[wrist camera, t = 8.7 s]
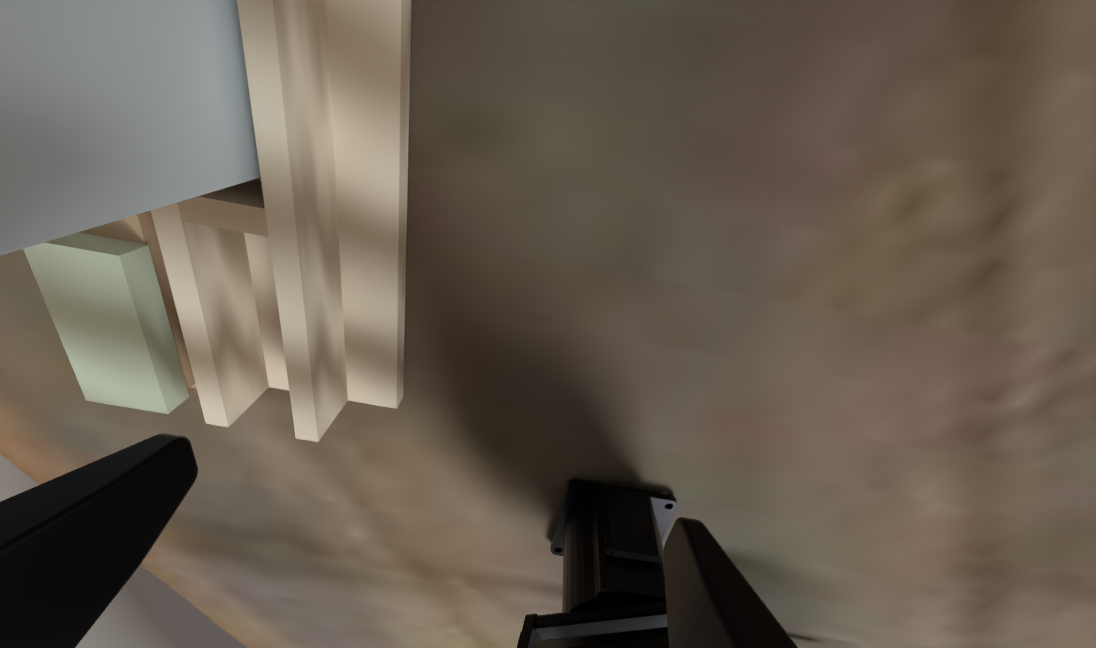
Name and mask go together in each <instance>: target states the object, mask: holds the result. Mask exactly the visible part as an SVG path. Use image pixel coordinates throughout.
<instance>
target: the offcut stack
mask: <svg viewBox="0 0 1096 648" xmlns="http://www.w3.org/2000/svg"><path fill="white" fill-rule="evenodd" d="M23 250H24V252H25V255H26V257H27V259H28V262H29V264H30V267H31V269H32V271H33V274H34V276H35V279H36V281H37V283H38V286H39V288H40V291H41V293H42V295H43V298H44V300H45V303H46V305H47V307H48V310H49V312H50V315H51V317H52V319H53V322H54V324H55V327H56V329H57V331H58V334H59V336H60V339H61V341H62V343H63V346H64V348H65V351H66V353H67V355H68V358H69V360H70V363H71V365H72V367H73V370H74V372H75V375H76V377H77V379H78V382H79V384H80V387H81V389H82V391H83V394H84V396H85V399H86V401H92V402H98V403H104V404H110V405H117V406H123V407H129V408H135V409H141V410H147V411H153V412H159V413H165V414H169V413H170V412H171V411H172V410H174V409H175V408H176V407H177V406H178V405H180V404H181V403H182V402H183V401H185V400H186V399H187V398H188V397H189V393H188V389H189V388H190V387H191V388H197V387H196V383H195V379H194V375H193V372H192V368H191V364H190V360H189V356H188V352H187V348H186V345H185V341H184V337H183V333H182V329H181V325H180V322H179V318H178V314H177V310H176V306H175V302H174V298H173V295H172V291H171V287H170V283H169V279H168V275H167V271H166V268H165V264H164V260H163V256H162V252H161V248H160V245H159V241H158V237H157V233H156V229H155V225H154V221H153V218H152V214H151V210H150V211H147V212H144V213H140V214H137V215H134V216H130V217H127V218H124V219H120V220H117V221H114V222H110V223H107V224H104V225H100V226H97V227H94V228H90V229H87V230H84V231H80V232H77V233H74V234H70V235H67V236H64V237H60V238H57V239H54V240H50V241H47V242H44V243H40V244H37V245H34V246H30V247H27V248H24V249H23Z"/></svg>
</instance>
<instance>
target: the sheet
mask: <svg viewBox="0 0 1096 648" xmlns="http://www.w3.org/2000/svg"><path fill="white" fill-rule="evenodd" d="M260 177H261V175H260V168H259V161H258V153H257V146H256V138H255V131H254V123H253V116H252V109H251V101H250V94H249V86H248V79H247V71H246V64H245V56H244V49H243V42H242V34H241V27H240V19H239V12H238V4H237V0H0V255H4V254H7V253H10V252H14V251H17V250H20V249H24V248H27V247H30V246H34V245H37V244H40V243H44V242H47V241H50V240H54V239H57V238H60V237H64V236H67V235H70V234H74V233H77V232H80V231H84V230H87V229H90V228H94V227H97V226H100V225H104V224H107V223H110V222H114V221H117V220H120V219H124V218H127V217H130V216H134V215H137V214H140V213H144V212H147V211H150V210H154V209H157V208H160V207H164V206H167V205H170V204H174V203H177V202H180V201H184V200H187V199H190V198H194V197H197V196H200V195H204V194H207V193H210V192H214V191H217V190H220V189H224V188H227V187H230V186H234V185H237V184H240V183H244V182H247V181H250V180H254V179H257V178H260Z"/></svg>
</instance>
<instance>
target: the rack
mask: <svg viewBox="0 0 1096 648" xmlns="http://www.w3.org/2000/svg"><path fill="white" fill-rule="evenodd" d="M237 4H238V12H239V19H240V27H241V34H242V42H243V49H244V56H245V64H246V71H247V79H248V86H249V94H250V101H251V109H252V116H253V123H254V131H255V138H256V146H257V153H258V161H259V168H260V175H261V177H260V178H257V179H254V180H250V181H247V182H244V183H240V184H237V185H234V186H230V187H227V188H224V189H220V190H217V191H214V192H210V193H207V194H204V195H200V196H197V197H194V198H190V199H187V200H184V201H180V202H177V203H174V204H170V205H167V206H164V207H160V208H157V209H154V210H151V214H152V218H153V221H154V225H155V229H156V233H157V237H158V241H159V245H160V248H161V252H162V256H163V260H164V264H165V268H166V271H167V275H168V279H169V283H170V287H171V291H172V295H173V298H174V302H175V306H176V310H177V314H178V318H179V322H180V325H181V329H182V333H183V337H184V341H185V345H186V348H187V352H188V356H189V360H190V364H191V368H192V372H193V375H194V379H195V383H196V387H197V391H198V395H199V399H200V402H201V406H202V410H203V414H204V418H205V422H206V424H212V425H218V426H224V427H229V426H230V425H231V424H232V423H233V422H234V421H235V420H236V419H237V418H238V417H239V416H240V415H241V414H242V413H243V412H244V411H245V410H246V409H247V408H248V407H249V406H250V405H251V404H252V403H253V402H254V401H255V400H256V399H257V398H258V397H259V396H261V395H262V394H263V393H264V392H265V391H266V390H267V389H268V388H269V387H272V388H278V389H283V390H289V391H290V399H291V406H292V414H293V421H294V428H295V436H296V439H303V440H309V441H315V442H318V441H319V440H320V439H321V437H322V436H323V434H324V433H325V432H326V430H327V429H328V427H329V426H330V425H331V423H332V422H333V420H334V419H335V418H336V416H337V415H338V413H339V412H340V411H341V409H342V408H343V406H344V405H345V404H346V402H347V401H354V402H360V403H366V404H372V405H378V406H384V407H390V408H396V409H397V407H398V405H399V403H400V401H401V400H402V398H403V381H404V333H405V284H406V236H407V188H408V140H409V92H410V44H411V0H237Z"/></svg>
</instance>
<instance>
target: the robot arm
mask: <svg viewBox="0 0 1096 648" xmlns="http://www.w3.org/2000/svg"><path fill="white" fill-rule="evenodd" d="M197 473H198V466H197V463H196V459H195V456H194V452H193V449H192V445H191V442H190V440H189V439H188V438H187V437H185V436H180V435H174V434H167V433H163V434H158V435H155V436H153V437H150V438H148V439H146V440H143V441H141V442H139V443H136V444H134V445H132V446H129V447H127V448H125V449H122V450H120V451H118V452H115V453H113V454H111V455H108V456H106V457H104V458H101V459H99V460H97V461H94V462H92V463H90V464H87V465H85V466H83V467H80V468H78V469H76V470H73V471H71V472H69V473H66V474H64V475H62V476H59V477H57V478H55V479H52V480H50V481H48V482H45V483H43V484H41V485H38V486H36V487H34V488H32V489H29V490H27V491H24V492H22V493H20V494H18V495H15V496H13V497H10V498H8V499H6V500H4V501H1V502H0V648H75V647H76V646H77V645H78V643H79V642H80V640H82V638H83V637H84V636H85V635H86V633H87V632H88V631H89V629H90V628H91V627H92V625H93V624H94V623H95V622H96V620H97V619H98V618H99V617H100V615H101V614H102V613H103V612H104V610H105V609H106V608H107V607H108V605H109V604H110V603H111V601H112V600H113V599H114V598H115V596H116V595H117V594H118V593H119V591H120V590H121V589H122V587H123V586H124V585H125V584H126V582H127V581H128V580H129V579H130V577H131V576H132V575H133V573H134V572H135V571H136V569H137V568H138V567H139V565H140V564H141V562H142V561H143V559H144V558H145V557H146V555H147V554H148V552H149V551H150V549H151V548H152V546H153V545H154V543H155V542H156V540H157V539H158V537H159V536H160V534H161V532H162V531H163V529H164V528H165V526H166V525H167V523H168V522H169V520H170V519H171V517H172V516H173V514H174V513H175V511H176V510H177V508H178V506H179V505H180V503H181V502H182V500H183V499H184V497H185V496H186V494H187V493H188V491H189V490H190V488H191V487H192V485H193V483H194V482H195V480H196V477H197ZM575 488H577V489H575ZM668 503H669V504H668ZM677 507H678V505H677V501H676V498H675V497H674V496H672V495H667V494H661V493H655V492H649V491H643V490H637V489H631V488H625V487H619V486H613V485H607V484H601V483H595V482H589V481H583V480H571V481H569V482H568V484H567V487H566V491H565V495H564V498H563V502H562V505H561V509H560V512H559V516H558V520H557V523H556V527H555V530H554V534H553V537H552V541H551V552H552V553H553V554H555V555H560V556H564V558H563V603H562V613H555V614H546V615H537V614H529V615H526V617H525V621H524V625H523V629H522V632H521V633H520V637H519V641H518V645H517V648H798V647H797V646H796V644H795V643H794V642H793V641H792V639H791V638H790V637H789V635H788V634H787V633H786V631H785V630H784V629H783V627H782V626H781V625H780V623H779V622H778V621H777V620H776V618H775V617H774V616H773V614H772V613H771V612H770V610H769V609H768V608H767V606H766V605H765V604H764V602H763V601H762V600H761V599H760V597H759V596H758V595H757V593H756V592H755V591H754V589H753V588H752V587H751V585H750V584H749V583H748V581H747V580H746V579H745V578H744V576H743V575H742V574H741V572H740V571H739V570H738V568H737V567H736V566H735V564H734V563H733V562H732V561H731V559H730V558H729V557H728V555H727V554H726V553H725V551H724V550H723V549H722V547H721V546H720V545H719V543H718V542H717V541H716V540H715V538H714V537H713V536H712V534H711V533H710V532H709V530H708V529H707V528H706V526H705V525H704V524H703V523H702V522H701V521H699V520H696V519H690V518H684V517H680V518H678V519H677V520H676V522H675V524H674V526H673V528H672V530H671V532H670V534H669V536H668V539H667V541H666V543H665V546H664V551H663V545H662V539H663V537H664V535H665V533H666V531H667V529H668V527H669V524H670V522H671V520H672V518H673V516H674V514H675V512H676V510H677Z"/></svg>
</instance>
